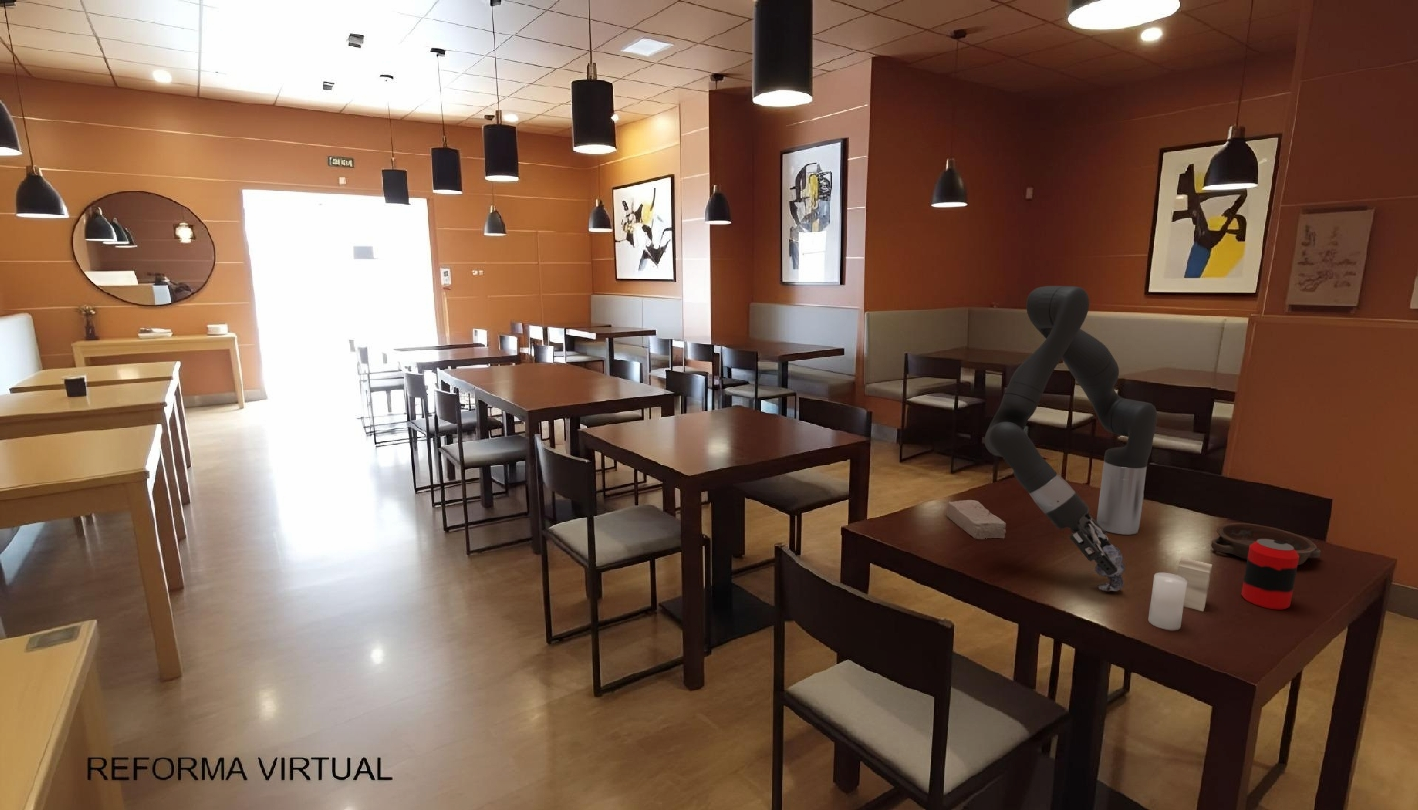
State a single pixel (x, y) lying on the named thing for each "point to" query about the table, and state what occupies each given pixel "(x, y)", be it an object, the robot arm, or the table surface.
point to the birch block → (1195, 582)
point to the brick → (976, 519)
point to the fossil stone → (1115, 578)
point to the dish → (1243, 535)
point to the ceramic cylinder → (1167, 601)
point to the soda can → (1270, 574)
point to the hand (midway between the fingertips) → (1115, 565)
